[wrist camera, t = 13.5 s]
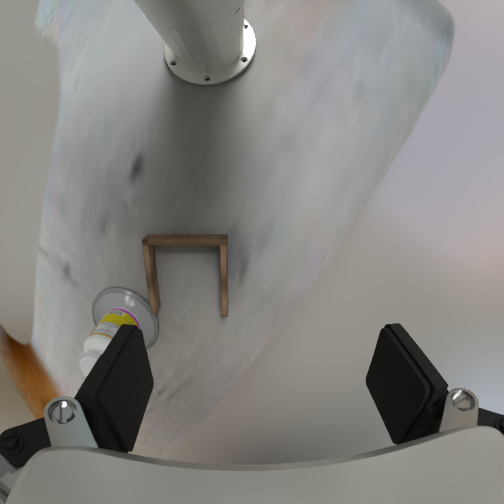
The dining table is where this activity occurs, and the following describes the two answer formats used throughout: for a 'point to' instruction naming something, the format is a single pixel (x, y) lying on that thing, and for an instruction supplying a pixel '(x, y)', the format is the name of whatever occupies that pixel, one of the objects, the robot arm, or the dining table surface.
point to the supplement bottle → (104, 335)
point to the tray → (131, 302)
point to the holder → (183, 240)
